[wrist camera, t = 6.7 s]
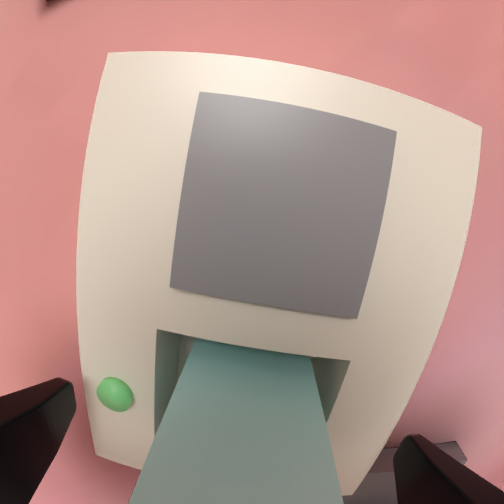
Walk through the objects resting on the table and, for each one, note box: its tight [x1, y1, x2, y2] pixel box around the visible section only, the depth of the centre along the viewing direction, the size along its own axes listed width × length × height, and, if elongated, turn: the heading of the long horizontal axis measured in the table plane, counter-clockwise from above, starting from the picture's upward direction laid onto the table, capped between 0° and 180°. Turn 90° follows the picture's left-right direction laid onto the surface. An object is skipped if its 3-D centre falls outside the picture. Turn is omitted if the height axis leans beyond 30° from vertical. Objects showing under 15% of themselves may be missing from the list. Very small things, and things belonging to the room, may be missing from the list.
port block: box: [76, 51, 482, 496], centre depth 9 cm, size 9×12×4 cm
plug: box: [128, 338, 344, 504], centre depth 7 cm, size 3×3×8 cm
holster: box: [342, 441, 467, 504], centre depth 12 cm, size 6×6×2 cm
